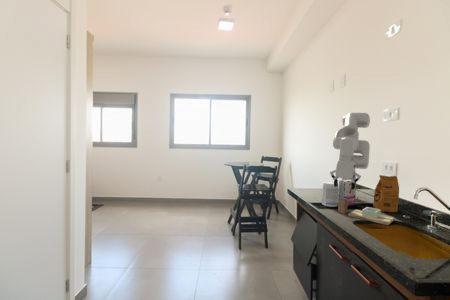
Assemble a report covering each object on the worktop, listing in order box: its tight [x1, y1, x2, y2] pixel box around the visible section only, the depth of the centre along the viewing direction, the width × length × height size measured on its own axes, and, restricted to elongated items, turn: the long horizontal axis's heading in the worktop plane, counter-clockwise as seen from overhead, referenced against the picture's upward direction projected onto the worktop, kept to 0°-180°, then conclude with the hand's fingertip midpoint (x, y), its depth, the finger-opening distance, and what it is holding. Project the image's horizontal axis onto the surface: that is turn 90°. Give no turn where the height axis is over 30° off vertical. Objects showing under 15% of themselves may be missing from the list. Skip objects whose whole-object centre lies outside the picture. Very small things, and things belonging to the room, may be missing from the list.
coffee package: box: [372, 174, 400, 213], centre depth 172 cm, size 10×12×22 cm
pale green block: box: [362, 206, 382, 218], centre depth 155 cm, size 9×7×3 cm
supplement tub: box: [321, 181, 339, 208], centre depth 179 cm, size 10×10×15 cm
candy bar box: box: [338, 179, 357, 207], centre depth 181 cm, size 11×5×16 cm, turn 117°
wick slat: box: [337, 198, 348, 215], centre depth 164 cm, size 5×4×8 cm
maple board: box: [347, 209, 395, 226], centre depth 155 cm, size 13×20×2 cm, turn 47°
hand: (344, 187), depth 162 cm, fingers open, 9 cm apart
